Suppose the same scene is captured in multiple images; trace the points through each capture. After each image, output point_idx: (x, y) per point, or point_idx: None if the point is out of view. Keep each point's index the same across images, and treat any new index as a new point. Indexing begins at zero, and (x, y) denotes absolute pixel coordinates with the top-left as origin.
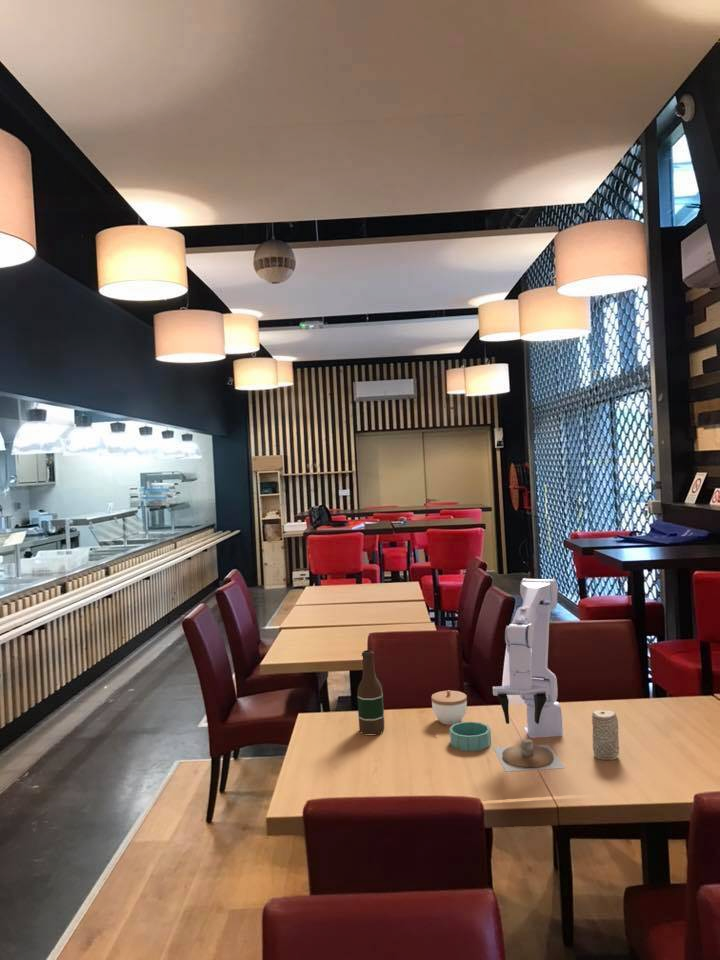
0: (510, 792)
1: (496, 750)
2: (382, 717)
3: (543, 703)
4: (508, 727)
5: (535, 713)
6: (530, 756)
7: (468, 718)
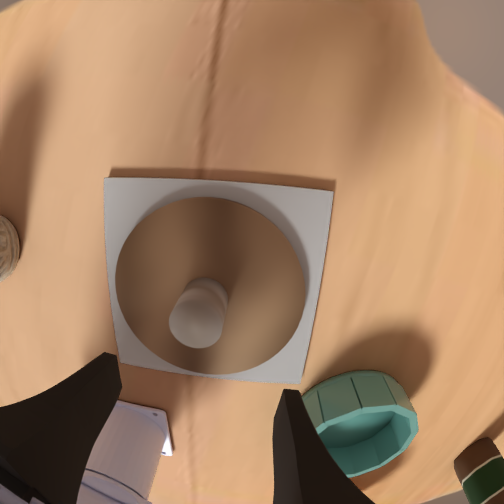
0: (356, 52)
1: (298, 367)
2: (475, 469)
3: (2, 411)
4: (209, 466)
5: (98, 411)
6: (199, 277)
7: None
